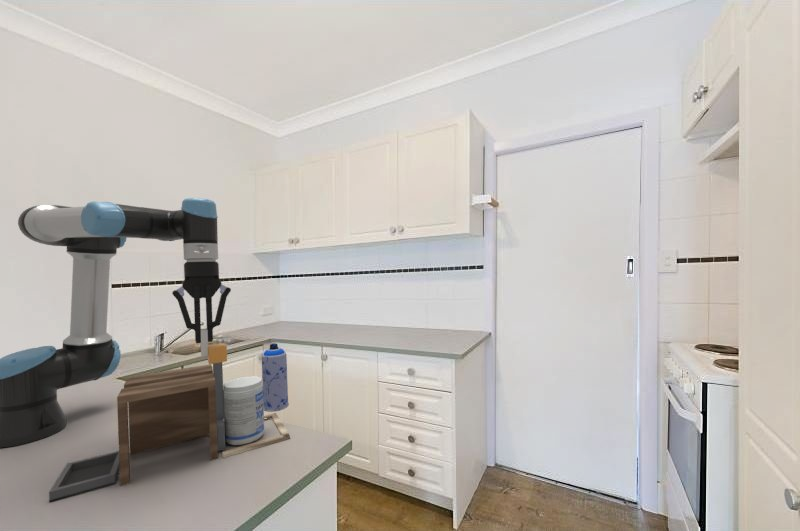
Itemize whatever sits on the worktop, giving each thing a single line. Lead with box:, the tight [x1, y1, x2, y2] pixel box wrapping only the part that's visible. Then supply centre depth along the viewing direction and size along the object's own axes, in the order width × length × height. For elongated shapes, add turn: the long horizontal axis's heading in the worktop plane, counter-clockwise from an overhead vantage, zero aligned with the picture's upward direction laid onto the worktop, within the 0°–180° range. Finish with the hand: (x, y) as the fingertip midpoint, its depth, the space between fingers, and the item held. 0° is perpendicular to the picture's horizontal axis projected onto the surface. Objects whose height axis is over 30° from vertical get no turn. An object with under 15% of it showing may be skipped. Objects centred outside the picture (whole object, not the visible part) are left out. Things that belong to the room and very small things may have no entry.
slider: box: [207, 342, 228, 452], centre depth 89 cm, size 12×4×24 cm, turn 31°
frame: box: [221, 412, 291, 459], centre depth 93 cm, size 17×16×1 cm
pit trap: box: [48, 450, 120, 503], centre depth 75 cm, size 12×10×2 cm
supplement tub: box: [223, 375, 265, 446], centre depth 91 cm, size 10×10×15 cm
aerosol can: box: [261, 343, 290, 413], centre depth 111 cm, size 8×8×20 cm
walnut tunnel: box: [116, 363, 219, 487], centre depth 83 cm, size 16×18×18 cm
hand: (204, 355), depth 87 cm, fingers closed
